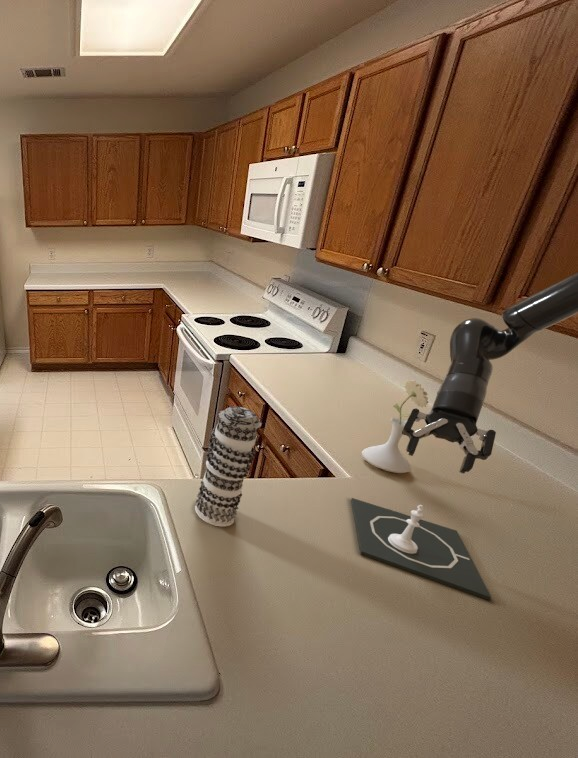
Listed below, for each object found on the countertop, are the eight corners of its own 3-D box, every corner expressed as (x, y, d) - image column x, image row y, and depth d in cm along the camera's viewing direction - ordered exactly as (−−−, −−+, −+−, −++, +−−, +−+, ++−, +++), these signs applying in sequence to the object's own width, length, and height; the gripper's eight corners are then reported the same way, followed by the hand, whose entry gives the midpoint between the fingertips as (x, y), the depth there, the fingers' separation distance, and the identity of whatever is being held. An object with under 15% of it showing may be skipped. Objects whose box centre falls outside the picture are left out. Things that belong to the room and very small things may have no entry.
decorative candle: (203, 494, 96) (227, 397, 87) (242, 513, 91) (272, 413, 82) (185, 512, 90) (209, 410, 80) (226, 534, 84) (257, 427, 75)
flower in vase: (413, 482, 109) (453, 396, 99) (363, 468, 113) (397, 385, 104) (400, 459, 120) (436, 380, 111) (355, 447, 124) (386, 370, 115)
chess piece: (415, 542, 85) (434, 504, 82) (418, 557, 82) (439, 517, 78) (386, 532, 88) (404, 494, 84) (388, 546, 84) (407, 506, 80)
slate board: (455, 533, 91) (456, 530, 90) (489, 600, 74) (491, 597, 74) (350, 500, 99) (352, 497, 98) (360, 554, 82) (361, 550, 82)
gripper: (422, 380, 91) (398, 442, 87) (511, 402, 82) (488, 472, 79) (415, 396, 97) (391, 455, 93) (497, 417, 88) (475, 483, 84)
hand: (436, 462), depth 86 cm, fingers open, 8 cm apart
